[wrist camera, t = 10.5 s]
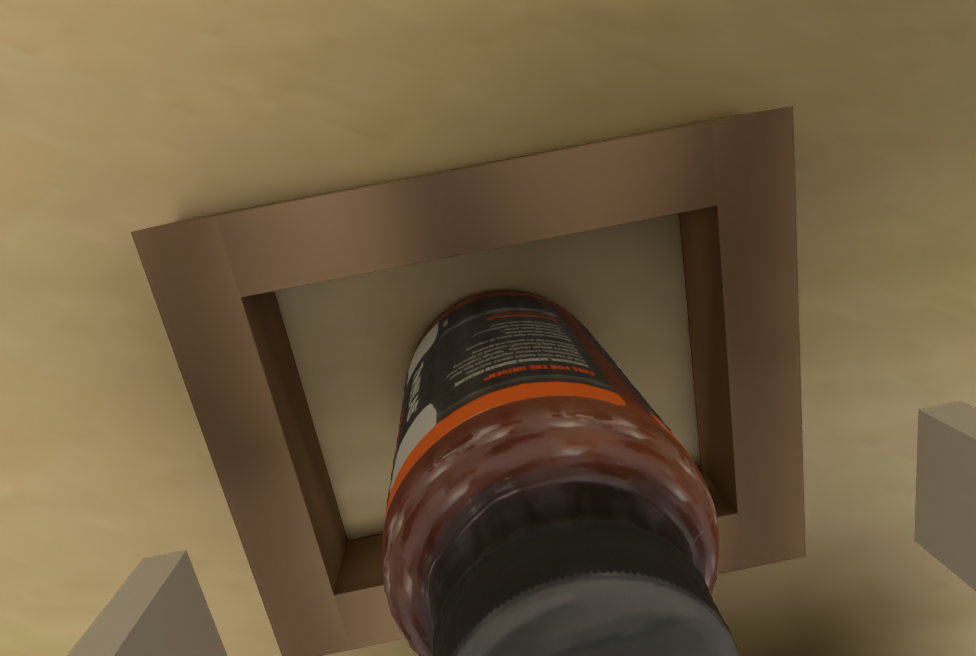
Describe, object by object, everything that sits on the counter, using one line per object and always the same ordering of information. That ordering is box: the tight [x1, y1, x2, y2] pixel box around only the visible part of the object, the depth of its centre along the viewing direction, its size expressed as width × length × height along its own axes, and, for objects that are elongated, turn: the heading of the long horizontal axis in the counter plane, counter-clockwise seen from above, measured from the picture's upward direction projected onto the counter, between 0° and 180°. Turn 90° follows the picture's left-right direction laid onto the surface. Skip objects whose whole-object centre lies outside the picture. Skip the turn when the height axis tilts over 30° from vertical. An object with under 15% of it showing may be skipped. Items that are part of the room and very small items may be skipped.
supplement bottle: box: [381, 291, 740, 656], centre depth 13 cm, size 6×6×11 cm
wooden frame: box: [131, 106, 806, 656], centre depth 17 cm, size 16×13×2 cm
